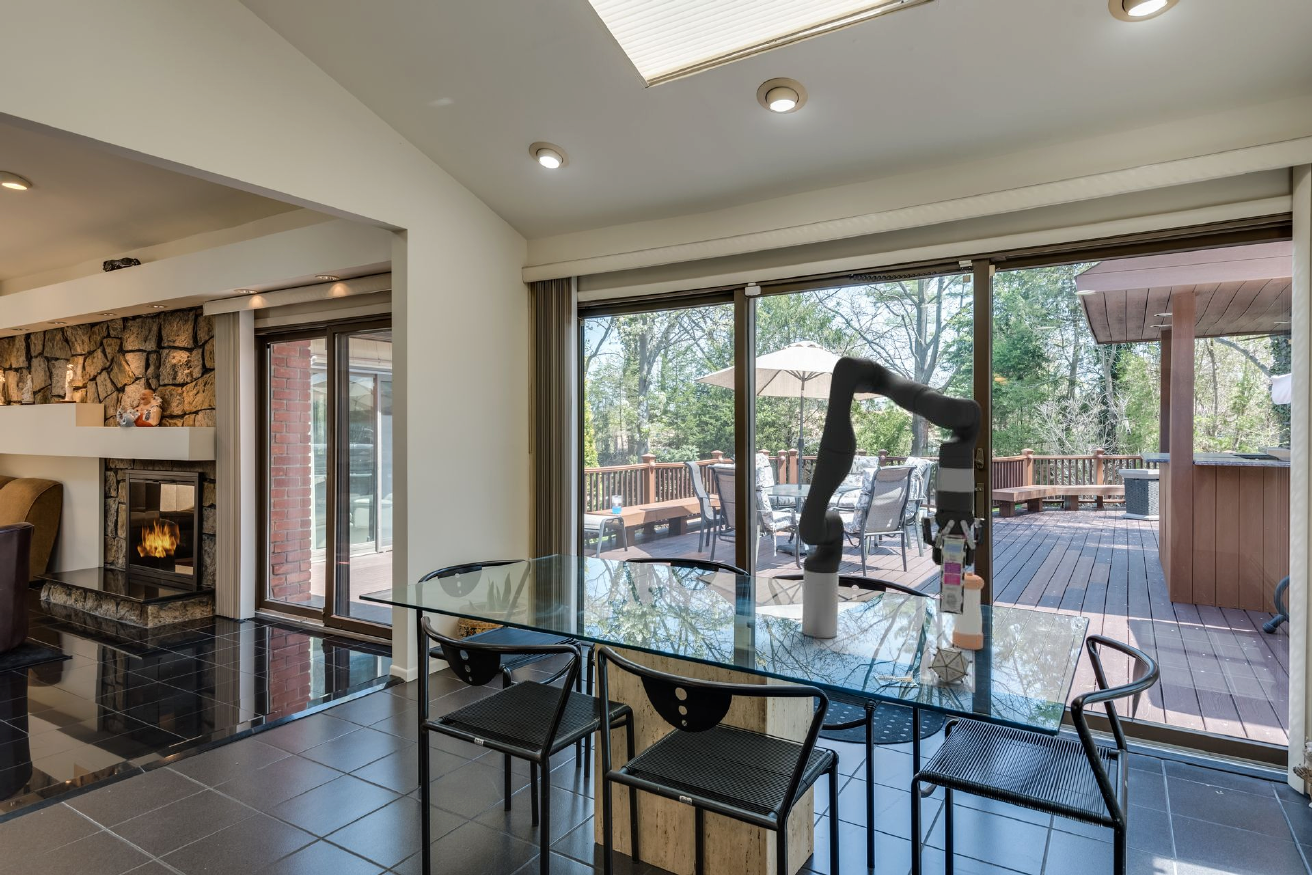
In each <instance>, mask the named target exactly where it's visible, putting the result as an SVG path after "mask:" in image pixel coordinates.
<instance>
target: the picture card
mask: <svg viewBox="0 0 1312 875" xmlns="http://www.w3.org/2000/svg"><path fill="white" fill-rule="evenodd" d="M874 676H878V675H876V674H875V675H873V677H874ZM889 676H890V677H885V678H884V677H875V678H879V680H900V681H898V682H915V681H914V679H913V678H912V677H911V676H904V677H896V678H912V680H913V681H912V680H911V679H892V678H895V677H893V676H894V675H889ZM875 678H874V679H875ZM901 680H902V681H901ZM903 680H907V681H903ZM887 682H888V681H887ZM890 682H891V681H890ZM892 682H894V681H892ZM910 685H917V687H919V688H920V686H919V685H918V684H917V683H916V682H915V683H914V684H910Z"/></svg>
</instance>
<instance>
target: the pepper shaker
mask: <svg viewBox="0 0 1312 875" xmlns="http://www.w3.org/2000/svg"><path fill="white" fill-rule="evenodd" d="M984 586H985V581H984V579H983V578H982V577H980V576H979V575H977V574H974V572H972V571H967V572H965V586H964V606H963V614H954V615H953V619H954V621H953V623H954V628H953V629H952V643H951V645H953V644H954V645H955V646H954V647H957V646H958V647H957V648H960V649H965V650H973V651H974V650H981V649H983V648H984V634H983V629H982V628H983V617H982V609H981V608H982V607H981V593H982V592H981V590H982V589H983V588H984Z"/></svg>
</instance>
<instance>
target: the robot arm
mask: <svg viewBox="0 0 1312 875" xmlns="http://www.w3.org/2000/svg"><path fill="white" fill-rule="evenodd" d="M855 394H872V395H878V396H883V397H886V398H888V399H890V400H891V401H892V402H893V403H895V405H897V406H898V407H899V408H902V410H903V409H904V410H905V411H907V412H910V413H912V414H914V415H918V416H920V417H923V418H924V419H925V420H927V422H929V423H931V424H932V425H934V426H936V427H939V428H941V429H944V430H950V431H951V430H952V431H951V435H950V436H949V439H948V440H946V441H944V442H941V444H940V446H939V452H938V472H937V477H936V506H935V514H934V515H933V516H928V517H926V516H922V517H921V518H920V523H921V530H922V538H923V540H922V541H923V543H924V544H927V546H928V545H929V546H931V547H932V548H931V549H932V550H931V552H932V554H931V559H932V562H934V564H935V565H936V566H941V551H942V549H941V545H942V536H943V535H955V534H956V535H965V537H966V561H965V567H966V566H967V567H971V566H972V564H973V565H974V563H975V551H976V548H977V549H978V548H980V547H984V545H985V542H986V541H985V540H986V537H987V536H986V535H987V529H988V523H989V521H988V520H987V519H985V518H982V517H980V518H976V517H975V516H974V498H975V496H974V494H975V493H974V492H975V475H974V474H975V473H974V463H975V462H974V458H975V457H974V456H975V455H974V454H975V452H974V451H975V446H976V444H977V442H978V437H979V435H980V431H981V428H982V423H983V413H982V408H981V406H980V404H979V403H978V402H977V401H976V400H974V399H973V398H969V397H968V398H966V397H952V396H947V395H944V394H943V393H942V391H940V390H939V389H937V388H935V387H934V386H929V385H927V384H924V383H921V382H918V381H916V380H912V379H910V378H907V377H903V376H902V375H900V374H897V373H895V372H893V371H892V370H889V369H888V368H886V367H885V366H883V365H882V364H880V363H879V362H877V361H876V360H874V359H871V358H869V357H864V356H863V357H862V356H860V357H859V356H853V355H852V356H851V355H846V356H842V357H840V358H839V359H838V360H837V361H836V363H835V365H834V367H833V369H832V374H831V380H830V388H829V397H828V403H827V412H826V415H825V421H824V427H823V431H822V435H821V439H820V443H819V446H818V451H817V456H816V460H815V461H816V462H815V466H814V470H813V473H812V474H813V475H812V479H811V482H810V487H809V490H808V493H807V495H806V499H805V502H804V505H803V506H802V511H801V515H800V517H799V521H798V535H799V538H800V540H801V542H802V543H803V544H804V545H806V546H812V547H813V546H814V547H815V546H816V549H815V550H814V551H813V552H812V553H811V554H810V555H808V556H806V557H805V558H804V561H803V584H802V586H803V587H802V588H803V589H802V590H803V592H802V617H801V618H802V619H801V622H802V626H801V627H802V628H801V633H802V634H803V635H805V636H808V637H812V638H819V639H830V638H835V637H837V635H838V616H839V615H838V614H839V613H838V612H839V580H840V577H839V574H840V566H841V565H840V564H841V563H842V560H843V551H844V550H843V549H844V537H845V526H844V521H843V518H842V517H841V515H840V514H839V513H838V512H837V511H835V510H831V509H829V510H828V507H829V503H830V501H831V499H832V497H833V495H834V494H835V493H836V491H838V489H839V487H841V485H842V484H843V482H844V481H845V480H846V478H847V477H848V475H849V474H850V472H851V469H853V468H852V467H853V464H854V460H855V456H856V451H857V444H858V443H857V437H856V434H855V430H854V425H853V424H852V423H853V422H852V418H851V410H852V405H853V400H854V396H855ZM934 523H936V525H937V530H936V532H935V534H934V537H933V533H932V527H933V526H934ZM973 525H974V527H975V528H976V529H975V533H974V534H975V535H974V539H973V536H972V533H971V531H970V528H971V527H972V526H973Z"/></svg>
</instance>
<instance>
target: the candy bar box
mask: <svg viewBox="0 0 1312 875" xmlns="http://www.w3.org/2000/svg"><path fill="white" fill-rule="evenodd" d="M940 548H941V549H942V551H941V565H940V574H939V600H938V601H939V612H940V613H945V614H953V615H955V614H963V606H964V586H965V574H966V565H965V561H966V537H965V535H956V534H955V535H943V536H942V545H941V547H940Z"/></svg>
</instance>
